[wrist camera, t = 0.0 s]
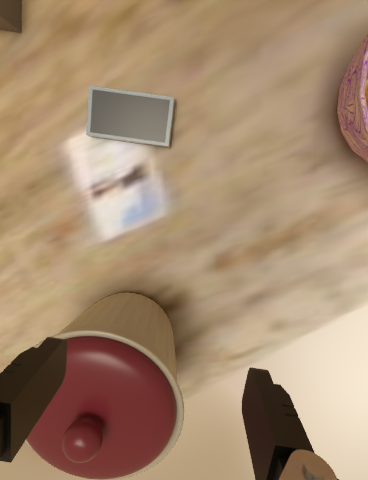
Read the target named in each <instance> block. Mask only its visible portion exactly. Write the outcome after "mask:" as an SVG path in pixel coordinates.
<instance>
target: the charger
mask: <svg viewBox="0 0 368 480" xmlns="http://www.w3.org/2000/svg"><path fill="white" fill-rule="evenodd" d="M21 4H22V0H0V30H3V31H10V32H17V33H21Z"/></svg>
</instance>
